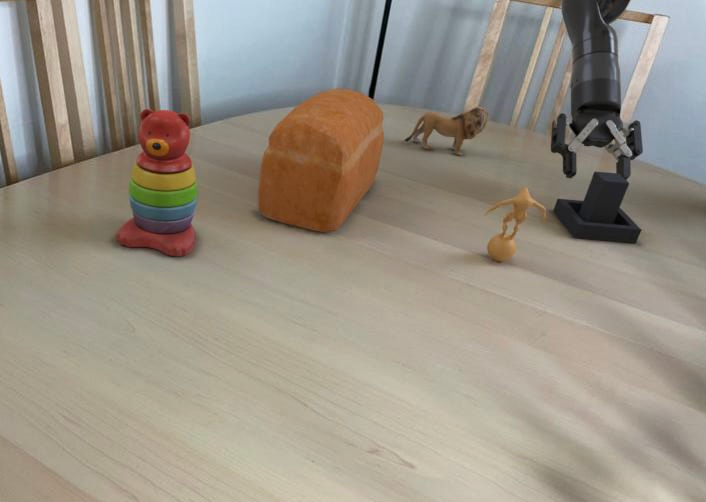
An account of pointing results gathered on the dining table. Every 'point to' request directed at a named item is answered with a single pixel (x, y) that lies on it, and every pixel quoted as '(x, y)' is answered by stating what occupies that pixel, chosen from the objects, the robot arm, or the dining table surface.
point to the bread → (321, 160)
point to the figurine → (504, 244)
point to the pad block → (603, 198)
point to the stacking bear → (162, 187)
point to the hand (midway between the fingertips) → (596, 179)
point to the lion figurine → (451, 126)
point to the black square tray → (595, 224)
